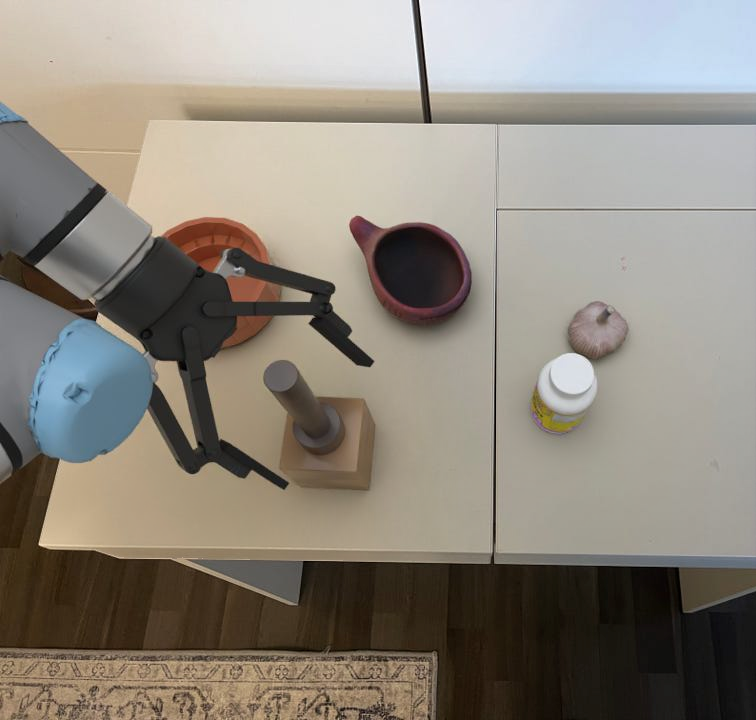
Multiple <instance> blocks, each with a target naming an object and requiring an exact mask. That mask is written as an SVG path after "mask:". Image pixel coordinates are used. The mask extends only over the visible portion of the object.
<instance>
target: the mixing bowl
mask: <svg viewBox="0 0 756 720" xmlns="http://www.w3.org/2000/svg"><path fill="white" fill-rule="evenodd" d="M160 237H166V238H167V239H168V240H169V241H171V242H172V243H173V244H174V245H176V246H177V247H178V248H179V249H180V250H182V251H183V252H184V253H185V254H186V255H188V256H189V257H190V258H191V259H193V260H194V261H195V262H196V263H197V264H199V265H200V266H201V267H202V268H204V269H205V270H207V271H210V272H213V271H214V269H215V268H216V266H217V265H218V263H219V262H220V260H221V258H220V254H221V252H222V251H223V250H225V249H231V248H240V249H241V250H243V251H244V252H246V253H247V254H248V255H250V256H251V257H253V258H254V259H255V260H257V261H259V262H263V263H266V264H270V265H273V266H276V265H275V263H274V261H273V259H272V257H271V254H270V252H269V251H268V249H267V248H266V246H265V245H264V243H263V241H262V240H261V238H260V237H259V235H258V234H257V233H256V232H255V231H254V230H252V229H250V228H249V227H248V226H247V225H245V224H244V223H242V222H239V221H236V220H233V219H230V218H226V217H213V216H203V217H198V218H194V219H190V220H185V221H184V222H183V221H182V223H179V224H177V225H175V226H174V227H172V228H170V229H168V230H166V231H165V232H164V233H162V234H161V235H160ZM226 281H227V283H228V286H229V290H230V293H231V297H232V300H233V302H280V298H281V297H280V296H281V289H282V286H281V285H277V284H273V283H270V282H266V281H262V280H259V279H255V278H251V277H248V276H245V275H244V276H243V277H240V278H234V277H231V276H229V277H227V279H226ZM272 317H273V316H237V326H236V328H238V329H237V330H236V331H235V332H234V333H233V335H232V336H231V337H229V338H228V339H226V340H225V341H224V342H223V344H222V347H221V349H224V348H228V347H231V346H236V345H239V344H241V343H243V342H244V341H246V340H248V339H250V338H251V337H253V336H255V335H257V334H258V333H259V332H260V331H261V329H262V328H264V326H266V325H267V323H269V322H270V320H271V319H272Z"/></svg>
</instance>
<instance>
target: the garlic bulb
mask: <svg viewBox="0 0 756 720" xmlns="http://www.w3.org/2000/svg"><path fill="white" fill-rule="evenodd" d="M628 332H629V324H628V322H627V320H626V319H625V318H624V317H623V316H622V314H621V313H620V312H618V311H617V310H616V308H615V307H613V306H612V305H610V304H607V303H605V302H603V301H592V302H589V303H588V304H587V305H586V306H584V307H583V308H581V309H579V310H578V311H576V313H575V314H574V316H573V318H572V319H571V321H570V323H569V325H568V327H567V336H568V337H569V344H570V346H571V348H572V349H573V350H574V352H576V353H577V354H579V355H581V356H586V357H588V358H589V359H592V360H597V359H598V360H599V359H600V358H602V357H603V356H606V355H609V354H611V353H613V352H614V350H615V349H616V348H619V347H620V346H621V345H622V344H623V343H624V341H625V338H626V336H627V334H628Z"/></svg>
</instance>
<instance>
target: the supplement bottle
mask: <svg viewBox="0 0 756 720" xmlns="http://www.w3.org/2000/svg"><path fill="white" fill-rule="evenodd" d="M597 392H598V380H597V376H596V373H595V370H594V366H593V364H592V362H590V360H588V359H587V358H586V357H585V356H584V355H582V354H579V353H577V352H576V353H575V352H567V353H563V354H561V355H558V357H555V358H552V359H551V360H550V361H548V362H547V363H546V364H545V365H544V366H543V367H542V369H541V370H540V372H539V374H538V377H537V381H536V384H535V387H534V390H533V392H532V396H531V401H530V413H531V416H532V419H533V420H534V422H535V423H536V425H538V426H539V428H541V429H542V430H543V431H546V432H547V433H551V434H555V435H559V434H560V435H561V434H566V433H569V432H571V431H573V430H575V428H577V427H578V426H579V424H580V423H581V422H582V421H583V419H584V417H585V416H586V414H587V412H588V410H589V408H590V407H591V405H592V404H593V402H594V401H595V398H596V396H597Z"/></svg>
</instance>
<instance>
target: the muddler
mask: <svg viewBox="0 0 756 720" xmlns="http://www.w3.org/2000/svg"><path fill="white" fill-rule="evenodd" d="M262 377H263V379H262V380H263V384H264V385H265V387H266V388H267V389H268V390H269V392H270V393H271V394H272V395H273V397H274V398H275V399H276V400H277V402H278V403H279V404H280V405H281V406H282V408H283V409H284V410H285V411H286V412H288V413H289V415H290V416H291V417H292V418H293V426H292V427H293V433H294V436H295V438H296V439H297V441H298V442H299V443H300V444H301V445H302V446H303V447H304V448H305V449H306V450H307V451H308V452H310V453H312V454H315V455H325V454H329V453H331V452H333V451H335V450H336V449H337V448H338V447H339V446H340V445H341V443H342V442H343V440H344V437H345V426H344V423H343V421H342V419H341V417H340V416H339V414H338V412H337V411H336V410H335V409H334V408H333V407H332V406H330V405H329V404H326V403H322V402H318V400H317V398H316V397H317V396H316V395H315V394H314V392H313V391H312V389H311V388H310V386H309V385H308V383H307V381H306V380H305V378H304V376H303V375H302V373H301V372H300V371H299V369H298V367H297V366H296V365H295V364H294V363H293V362H292V361H289V360H286V359H278V360H276V361H273V362H271V363H269V365H268V366H267V367H266V368H265V370H264V372H263V376H262ZM315 396H316V397H315Z"/></svg>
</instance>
